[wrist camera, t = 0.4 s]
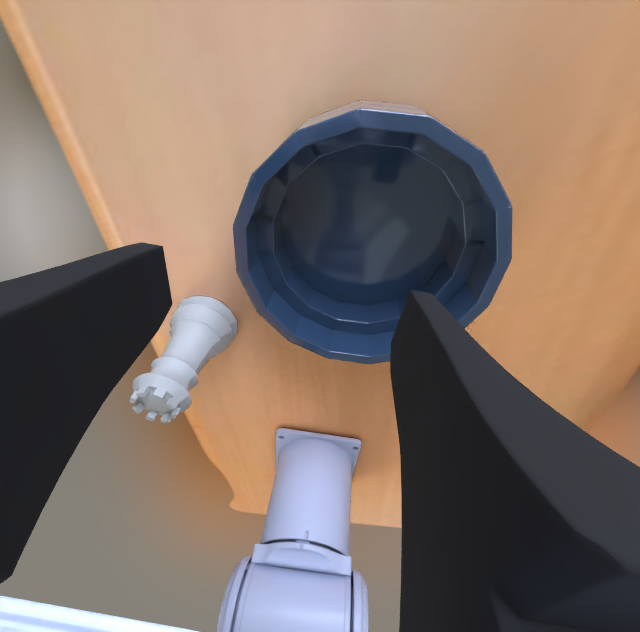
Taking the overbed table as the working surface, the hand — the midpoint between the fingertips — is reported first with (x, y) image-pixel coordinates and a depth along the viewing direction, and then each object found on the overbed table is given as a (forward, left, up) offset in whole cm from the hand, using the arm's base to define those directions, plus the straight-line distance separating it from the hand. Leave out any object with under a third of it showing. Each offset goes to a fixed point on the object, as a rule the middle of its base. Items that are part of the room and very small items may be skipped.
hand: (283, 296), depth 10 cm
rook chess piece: (-10, +7, -10) cm, 16 cm away
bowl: (-2, -3, -10) cm, 10 cm away
